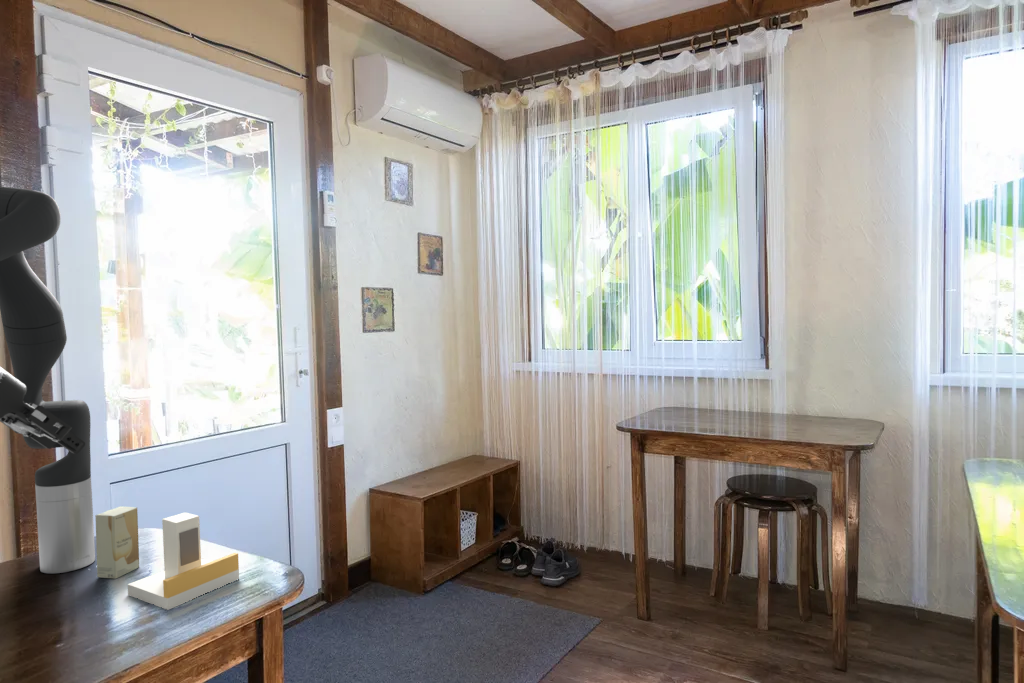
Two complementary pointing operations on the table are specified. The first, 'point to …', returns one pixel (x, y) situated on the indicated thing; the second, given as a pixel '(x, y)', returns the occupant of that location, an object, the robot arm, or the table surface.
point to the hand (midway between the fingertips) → (67, 446)
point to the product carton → (181, 543)
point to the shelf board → (186, 582)
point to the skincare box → (117, 542)
